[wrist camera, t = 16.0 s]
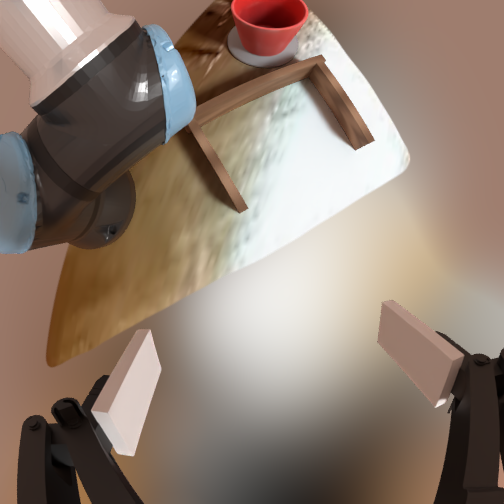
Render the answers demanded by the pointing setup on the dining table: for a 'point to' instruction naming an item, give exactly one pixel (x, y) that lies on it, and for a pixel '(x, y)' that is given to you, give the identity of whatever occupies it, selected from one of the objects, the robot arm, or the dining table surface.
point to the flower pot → (268, 24)
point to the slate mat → (260, 61)
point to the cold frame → (270, 83)
